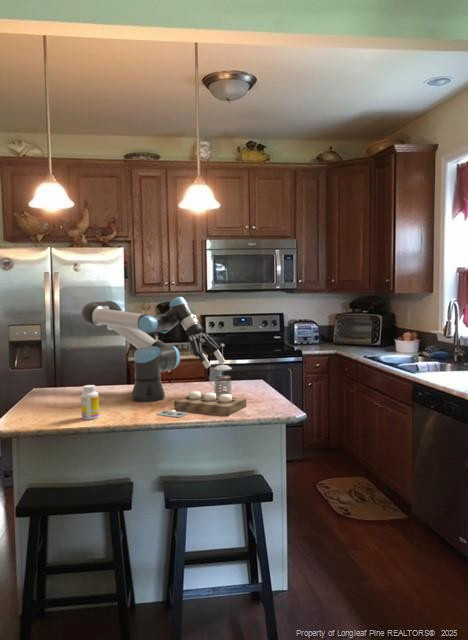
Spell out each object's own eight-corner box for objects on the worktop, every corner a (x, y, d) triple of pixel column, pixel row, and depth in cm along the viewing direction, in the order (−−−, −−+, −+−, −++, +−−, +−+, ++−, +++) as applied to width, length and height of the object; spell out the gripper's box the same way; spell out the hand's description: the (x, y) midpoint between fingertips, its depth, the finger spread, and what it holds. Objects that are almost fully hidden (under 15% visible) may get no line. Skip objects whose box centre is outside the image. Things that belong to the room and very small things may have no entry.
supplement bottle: (100, 415, 207) (99, 384, 206) (97, 419, 201) (95, 387, 200) (84, 416, 207) (83, 384, 206) (79, 420, 200) (78, 387, 199)
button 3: (217, 403, 212) (217, 396, 212) (223, 401, 216) (223, 393, 216) (228, 404, 210) (228, 397, 209) (234, 402, 214) (233, 394, 214)
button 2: (202, 401, 215) (202, 394, 215) (208, 399, 220) (208, 392, 219) (212, 403, 213) (212, 395, 213) (218, 400, 217) (218, 393, 217)
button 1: (187, 400, 219) (186, 393, 218) (193, 397, 223) (193, 390, 223) (197, 401, 216) (196, 393, 216) (203, 398, 221) (203, 391, 221)
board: (174, 409, 215) (173, 400, 215) (194, 401, 230) (194, 393, 229) (228, 415, 204) (228, 406, 203) (246, 406, 218) (246, 398, 217)
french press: (229, 400, 229) (229, 345, 227) (205, 399, 233) (204, 344, 231) (236, 396, 238) (236, 342, 237) (213, 394, 242) (212, 342, 240)
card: (156, 414, 207) (156, 411, 207) (166, 410, 213) (166, 407, 213) (179, 417, 202) (179, 413, 202) (188, 413, 208) (188, 409, 208)
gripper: (183, 324, 227) (208, 364, 222) (211, 320, 249) (234, 356, 244) (171, 333, 230) (196, 373, 225) (200, 328, 252) (223, 365, 247)
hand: (216, 364), depth 235 cm, fingers open, 13 cm apart
